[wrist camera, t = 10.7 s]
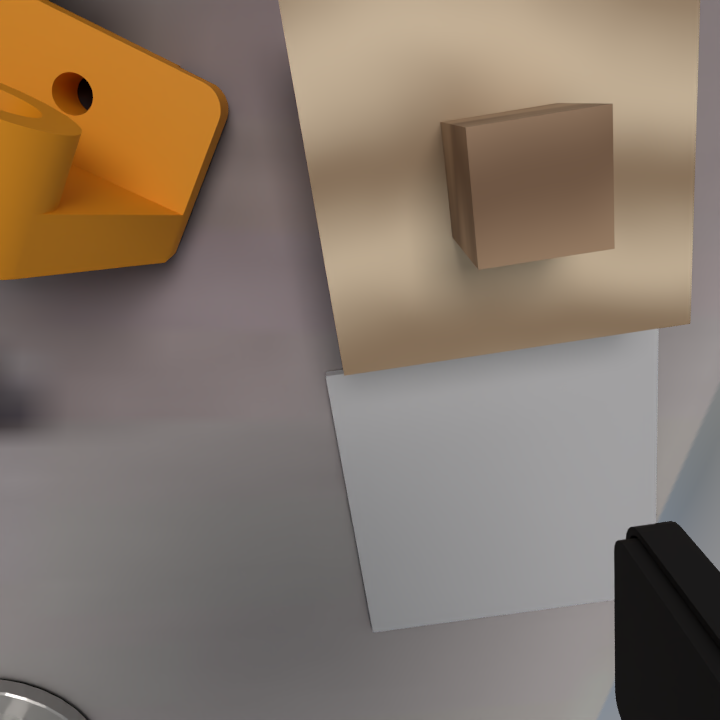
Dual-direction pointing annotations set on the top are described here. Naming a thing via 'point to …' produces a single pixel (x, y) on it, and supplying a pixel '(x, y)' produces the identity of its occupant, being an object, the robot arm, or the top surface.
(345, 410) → the mat
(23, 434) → the top surface
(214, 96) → the bracket
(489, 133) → the lid
